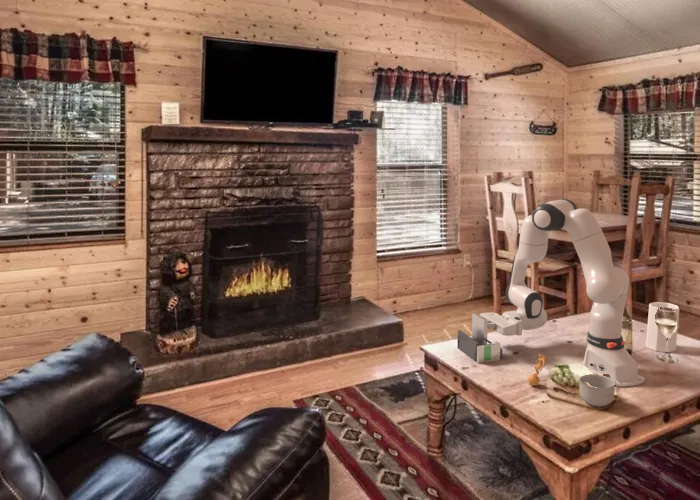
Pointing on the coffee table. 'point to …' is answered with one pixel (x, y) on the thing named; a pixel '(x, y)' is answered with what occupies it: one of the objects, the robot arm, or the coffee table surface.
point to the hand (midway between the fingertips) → (481, 325)
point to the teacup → (597, 389)
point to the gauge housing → (478, 349)
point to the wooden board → (479, 329)
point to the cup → (654, 336)
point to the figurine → (534, 378)
